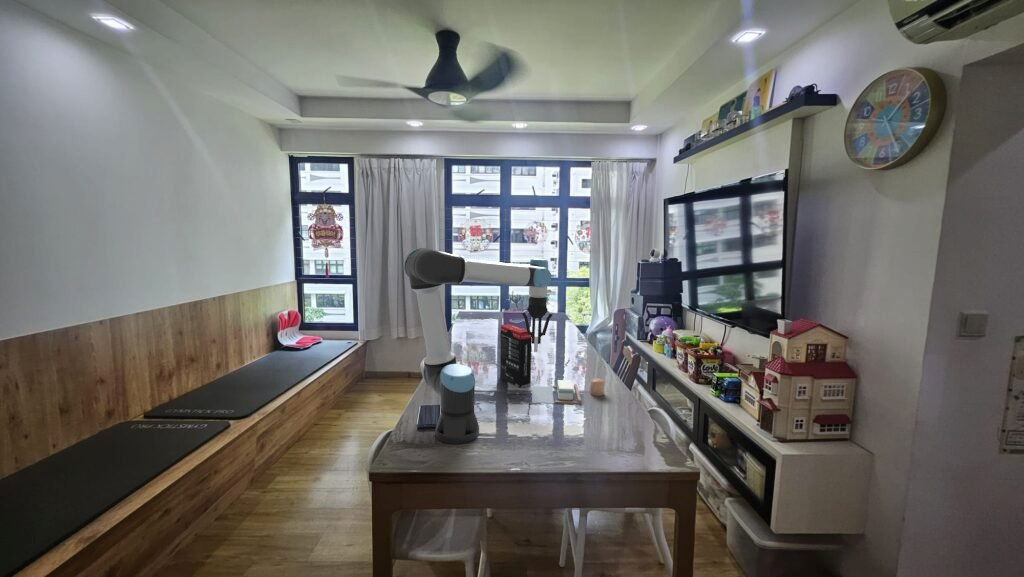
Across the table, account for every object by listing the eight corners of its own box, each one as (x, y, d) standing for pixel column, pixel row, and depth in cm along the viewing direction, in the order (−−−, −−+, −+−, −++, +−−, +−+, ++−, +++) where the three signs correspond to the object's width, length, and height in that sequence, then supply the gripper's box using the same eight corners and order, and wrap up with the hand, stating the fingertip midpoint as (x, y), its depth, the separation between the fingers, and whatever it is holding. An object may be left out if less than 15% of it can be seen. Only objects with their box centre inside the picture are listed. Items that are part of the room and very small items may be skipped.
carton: (573, 400, 172) (573, 389, 171) (558, 399, 172) (558, 388, 172) (571, 391, 182) (571, 380, 181) (557, 390, 182) (557, 379, 182)
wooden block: (605, 396, 180) (606, 382, 180) (591, 396, 180) (592, 382, 179) (601, 391, 186) (602, 378, 186) (588, 391, 186) (589, 378, 185)
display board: (580, 407, 168) (581, 400, 167) (531, 405, 169) (532, 398, 168) (576, 390, 186) (576, 384, 185) (531, 389, 187) (532, 382, 186)
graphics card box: (531, 389, 187) (533, 330, 183) (519, 392, 183) (520, 332, 179) (510, 377, 201) (511, 323, 197) (498, 380, 197) (499, 324, 193)
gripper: (553, 295, 175) (550, 349, 177) (522, 294, 175) (520, 348, 178) (554, 298, 167) (551, 354, 170) (522, 296, 168) (520, 352, 171)
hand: (535, 351), depth 174 cm, fingers closed
